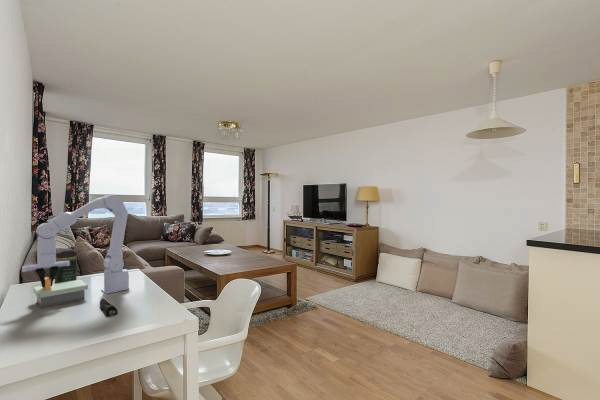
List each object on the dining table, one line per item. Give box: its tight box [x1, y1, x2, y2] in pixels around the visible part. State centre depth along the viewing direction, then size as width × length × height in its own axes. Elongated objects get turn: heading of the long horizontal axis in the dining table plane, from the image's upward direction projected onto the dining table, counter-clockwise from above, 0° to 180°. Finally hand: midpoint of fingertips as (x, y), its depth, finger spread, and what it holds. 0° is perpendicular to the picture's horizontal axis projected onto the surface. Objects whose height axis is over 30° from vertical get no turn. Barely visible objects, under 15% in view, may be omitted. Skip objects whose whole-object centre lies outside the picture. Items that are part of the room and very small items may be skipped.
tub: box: [36, 290, 85, 309], centre depth 124 cm, size 14×10×5 cm
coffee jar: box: [54, 247, 78, 284], centre depth 140 cm, size 10×8×19 cm
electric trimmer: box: [99, 298, 118, 317], centre depth 114 cm, size 4×16×3 cm, turn 44°
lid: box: [33, 276, 88, 298], centre depth 124 cm, size 16×12×6 cm
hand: (46, 286), depth 121 cm, fingers closed on lid
